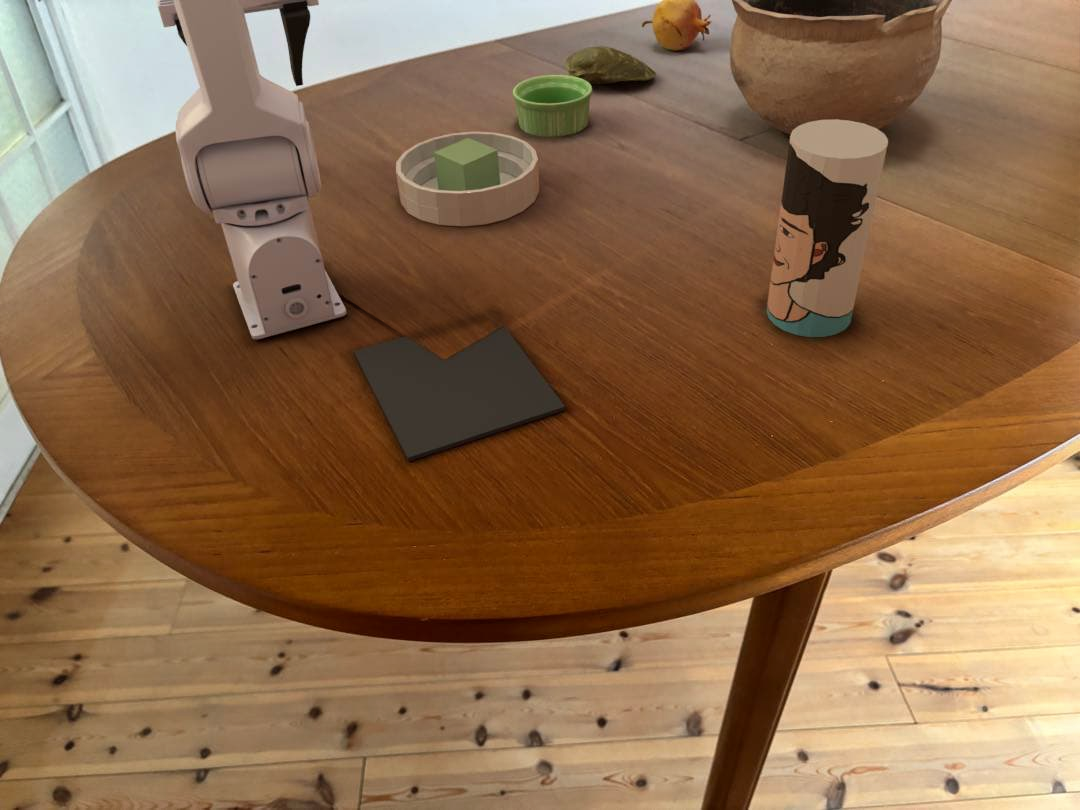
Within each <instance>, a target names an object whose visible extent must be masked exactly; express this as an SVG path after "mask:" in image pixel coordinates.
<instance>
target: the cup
mask: <svg viewBox="0 0 1080 810" xmlns="http://www.w3.org/2000/svg"><path fill="white" fill-rule="evenodd" d="M888 144H889V138H888V137H887V136H886V134H885V133H884V132H883V131H881V130H880V129H876V128H874V127H871V126H869V125H866V124H863V123H859V122H854V121H847V120H836V119H835V120H818V121H812V122H808V123H805V124H802V125H799V126H798V127H797V128H795V129H794V130H793V131H792V133H791V135H790V136H789V143H788V151H787V158H786V165H785V172H784V180H783V186H782V187H783V188H782V193H781V202H780V209H779V215H778V224H777V230H776V239H775V245H774V252H773V253H774V254H773V259H772V268H771V275H770V280H769V281H770V282H769V289H768V296H767V304H766V314H767V318H768V319H769V320H770V322H772V324H773V325H774V326H776V327H777V328H779V329H781V330H782V331H783V332H786V333H790V334H792V335H794V336H800V337H807V338H826V337H830V336H834V335H837V334H840V333H841V332H843V331H845V330H847V328H848V327H849V326H850V324H851V322H852V317H853V312H854V308H855V302H856V297H857V292H858V289H859V284H860V278H861V274H862V269H863V264H864V260H865V254H866V250H867V244H868V240H869V236H870V235H869V234H870V230H871V226H872V221H873V216H874V211H875V207H876V202H877V199H878V198H877V197H878V194H879V193H878V192H879V187H880V183H881V178H882V173H883V170H884V164H885V159H886V154H887V150H888V149H887V148H888Z"/></svg>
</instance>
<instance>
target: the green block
mask: <svg viewBox="0 0 1080 810" xmlns="http://www.w3.org/2000/svg"><path fill="white" fill-rule="evenodd" d="M434 158H435V166H436V174H437V182H438V190H448V191H466V190H477V189H484V188H488V187H492V186H496V185H500V173H499V160H498V150H497V149H494V148H492V147H489V146H487V145H484V144H482V143H479V142H477V141H474V140H472V139H470V138H467V139H464V140H462V141H459V142H457V143H455V144H452V145H450V146H448V147H445V148H443V149H440V150H438V151H436V152H434Z"/></svg>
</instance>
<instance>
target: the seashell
mask: <svg viewBox="0 0 1080 810" xmlns="http://www.w3.org/2000/svg"><path fill="white" fill-rule="evenodd" d="M564 69H565V70H566V71H567V72H568V74H569V76H573V77H578V78H581V79H583V80H585V81H587V82H588V83H590V85H591V84H594V85H595V84H596V85H604V84H613V83H618V82H629V81H635V82H636V81H642V82H645V81H649V80H650V79H653V78H655V77H656V76H657V72H656V71H655V70H654V69H652V68H651V67H650V66H648V64H646V63H645V62H643V61H641V60H639V59H638V58H637V57H635V56H632V54H629V53H626V52H624V51H621V50H619V49H615V48H613V47H609V46H604V45H603V46H602V45H598V46H597V45H596V46H588V47H584V48H582V49H580V50H578V51H577V52H574V53H572V54H571V55H569V57H568V58H567V59H566V61H565V64H564Z"/></svg>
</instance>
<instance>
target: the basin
mask: <svg viewBox="0 0 1080 810" xmlns="http://www.w3.org/2000/svg"><path fill="white" fill-rule="evenodd" d="M467 138H470V139H472V140H474V141H477V142H479V143H482V144H484V145H487V146H489V147H492V148H494V149H497V150H498V160H499V173H500V185H496V186H492V187H488V188H484V189H477V190H466V191H448V190H438V182H437V174H436V166H435V158H434V152H436V151H438V150H440V149H443V148H445V147H448V146H450V145H452V144H455V143H457V142H459V141H462V140H464V139H467ZM395 174H396V180H397V181H396V183H397V188H398V192H399V193H398V194H399V200H400V205H401V207H403V209H404V210H405V211H406V213H407V214H409V215H411V217H413V218H414V217H415V218H416V219H418V221H422V222H426V223H429V224H433V225H437V226H446V227H447V226H448V227H472V226H483V225H489V224H492V223H493V224H494V223H496V222H497V223H498V222H500V221H501V222H502V221H505V220H508V219H510V218H511V217H514V216H516V215H518V214H521V213H523V212H524V211H526V209H528V208H529V207H530V206H531V205H533V204H534V203H535V201H536V199H537V198H538V194H539V193H540V177H539V158H538V155H537V151H536V149H535V148H534V147H533V146H532V145H531V144H529V142H527V141H525V140H523V139H522V138H521V139H520V138H519V137H516V136H513V135H509V134H504V133H500V132H494V131H493V132H491V131H465V132H464V131H463V132H454V133H447V134H444V135H439V136H435V137H431V138H429V139H426V140H424V141H423V140H422V141H421V142H419V143H416V144H414V145H412V147H409V148H408V149H406V150H405V151H404V152H402V154H401V155H400V157H399V158H398V159H397V160H396V162H395Z"/></svg>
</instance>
